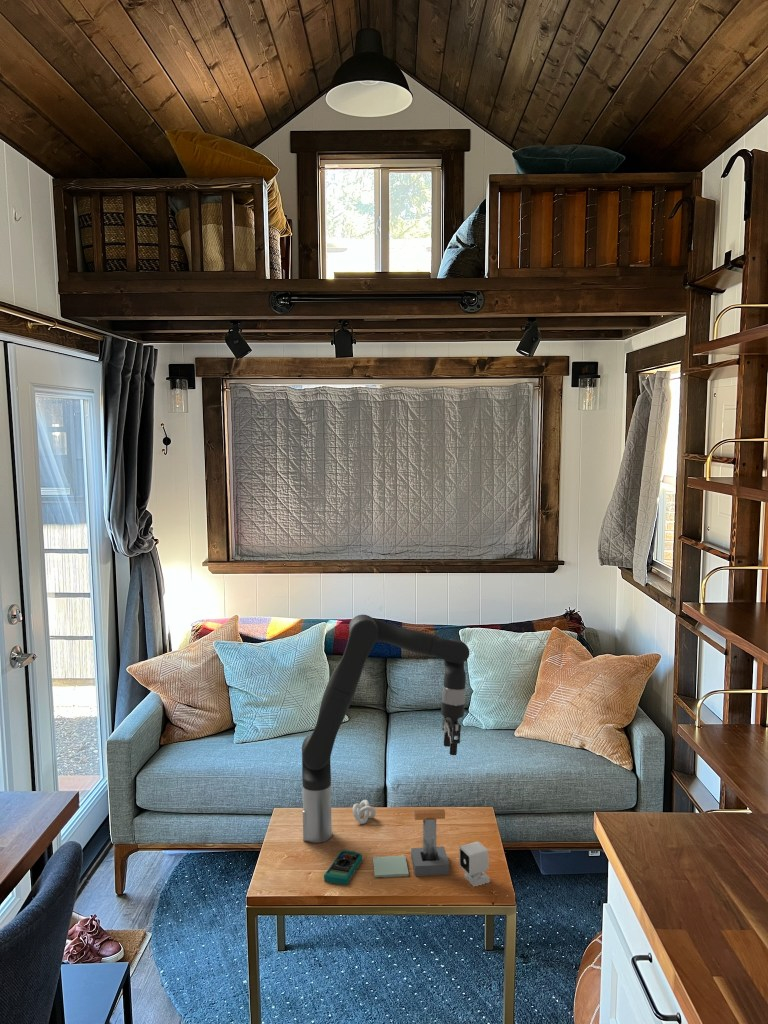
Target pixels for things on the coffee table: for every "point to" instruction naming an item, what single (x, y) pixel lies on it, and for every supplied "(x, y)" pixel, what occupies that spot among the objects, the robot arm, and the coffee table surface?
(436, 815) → the t key
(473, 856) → the security camera
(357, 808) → the knot
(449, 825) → the coffee table surface
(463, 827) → the coffee table surface
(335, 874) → the digital multimeter
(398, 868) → the pad
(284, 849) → the coffee table surface
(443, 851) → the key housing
